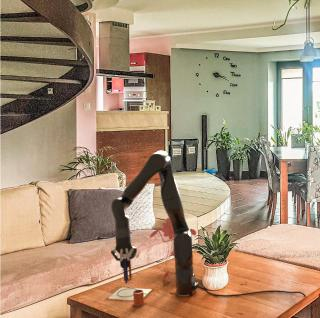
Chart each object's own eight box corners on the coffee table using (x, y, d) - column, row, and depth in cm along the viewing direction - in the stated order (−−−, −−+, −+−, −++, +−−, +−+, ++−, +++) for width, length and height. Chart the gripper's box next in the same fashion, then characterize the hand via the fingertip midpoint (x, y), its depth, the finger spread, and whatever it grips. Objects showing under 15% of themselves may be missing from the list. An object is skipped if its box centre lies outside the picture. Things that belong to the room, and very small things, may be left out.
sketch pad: (152, 290, 232) (152, 289, 232) (140, 301, 218) (140, 300, 218) (121, 288, 236) (120, 287, 236) (107, 299, 222) (107, 298, 222)
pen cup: (145, 303, 217) (145, 289, 216) (141, 307, 212) (140, 293, 211) (136, 302, 218) (136, 289, 217) (132, 307, 213) (131, 293, 212)
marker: (129, 282, 231) (127, 257, 229) (127, 283, 229) (125, 258, 227) (125, 282, 231) (123, 257, 230) (123, 283, 229) (121, 258, 227)
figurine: (200, 277, 248) (197, 217, 244) (154, 286, 237) (151, 223, 233) (192, 268, 262) (189, 211, 258) (148, 276, 251) (145, 217, 247)
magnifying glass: (138, 277, 250) (136, 243, 248) (138, 278, 249) (136, 244, 246) (122, 279, 248) (120, 245, 246) (122, 280, 247) (120, 246, 244)
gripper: (136, 231, 233) (138, 263, 235) (108, 234, 228) (111, 266, 230) (137, 235, 225) (139, 267, 227) (108, 238, 221) (111, 271, 223)
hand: (125, 267), depth 229 cm, fingers closed on marker, 2 cm apart
